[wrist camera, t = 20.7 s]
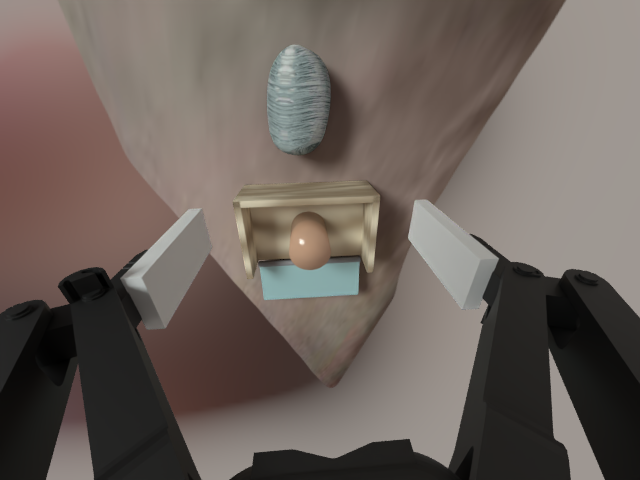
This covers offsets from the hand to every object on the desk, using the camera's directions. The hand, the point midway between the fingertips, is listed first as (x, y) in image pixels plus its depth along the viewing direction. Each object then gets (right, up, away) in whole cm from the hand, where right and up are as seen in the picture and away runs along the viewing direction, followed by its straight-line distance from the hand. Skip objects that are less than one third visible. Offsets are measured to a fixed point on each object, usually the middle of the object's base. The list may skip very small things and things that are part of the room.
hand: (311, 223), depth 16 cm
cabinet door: (-1, -5, +34) cm, 34 cm away
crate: (-2, +3, +33) cm, 33 cm away
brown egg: (-2, +1, +30) cm, 30 cm away
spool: (-3, +20, +24) cm, 32 cm away
